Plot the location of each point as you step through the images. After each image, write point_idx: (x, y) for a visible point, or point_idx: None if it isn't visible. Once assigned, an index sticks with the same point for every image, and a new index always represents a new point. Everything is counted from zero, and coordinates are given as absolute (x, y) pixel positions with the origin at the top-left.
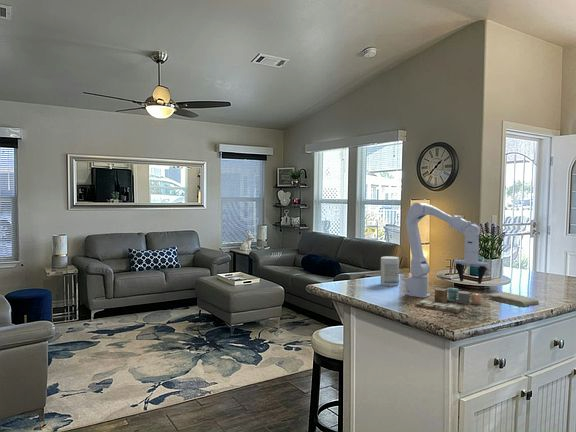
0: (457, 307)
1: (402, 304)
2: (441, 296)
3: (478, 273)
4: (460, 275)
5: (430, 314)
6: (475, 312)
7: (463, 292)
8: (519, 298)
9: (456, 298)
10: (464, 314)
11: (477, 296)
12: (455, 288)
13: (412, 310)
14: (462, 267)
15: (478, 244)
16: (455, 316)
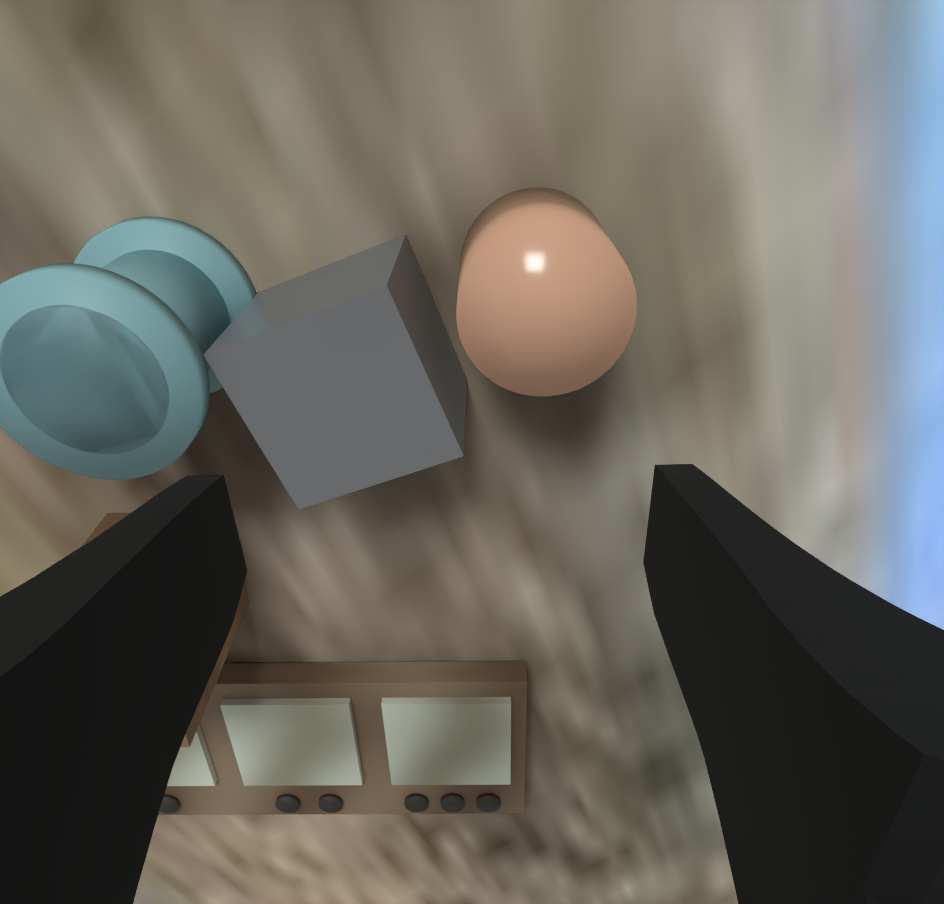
0: (483, 751)
1: None
2: None
3: (734, 850)
4: (174, 713)
5: (368, 897)
6: (649, 684)
7: (335, 416)
8: None
9: (225, 319)
10: (581, 782)
11: (582, 378)
12: (78, 288)
13: (205, 887)
14: (19, 890)
15: None
16: (540, 853)
